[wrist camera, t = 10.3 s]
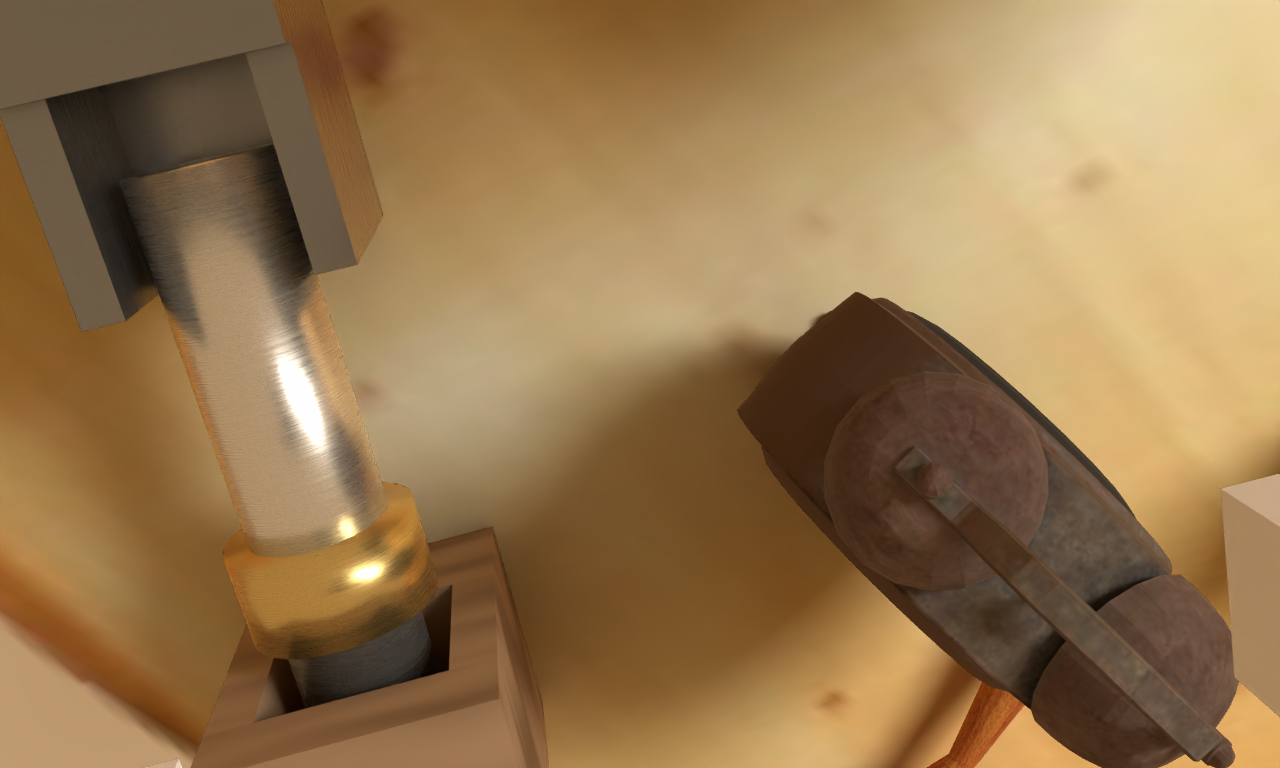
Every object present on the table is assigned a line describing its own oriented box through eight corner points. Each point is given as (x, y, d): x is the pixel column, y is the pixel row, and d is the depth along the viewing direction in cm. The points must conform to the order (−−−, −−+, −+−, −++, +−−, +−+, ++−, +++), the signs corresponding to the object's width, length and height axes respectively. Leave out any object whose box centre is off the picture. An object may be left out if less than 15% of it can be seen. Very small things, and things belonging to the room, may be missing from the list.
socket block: (260, 587, 45) (184, 783, 33) (492, 526, 46) (499, 699, 34) (322, 763, 48) (272, 1006, 36) (542, 704, 48) (565, 923, 36)
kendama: (1192, 607, 47) (929, 1023, 49) (1091, 544, 52) (857, 922, 54) (1093, 553, 44) (820, 995, 46) (997, 493, 50) (756, 891, 52)
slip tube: (124, 175, 37) (59, 200, 31) (316, 129, 37) (287, 146, 31) (308, 702, 42) (283, 805, 37) (474, 657, 43) (474, 753, 37)
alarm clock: (1057, 464, 48) (1434, 739, 29) (928, 589, 49) (1216, 936, 30) (816, 220, 44) (1073, 356, 25) (680, 361, 45) (831, 595, 26)
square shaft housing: (55, -62, 38) (-98, -100, 28) (288, -114, 39) (221, -170, 29) (169, 266, 42) (69, 340, 31) (383, 214, 42) (353, 271, 32)
